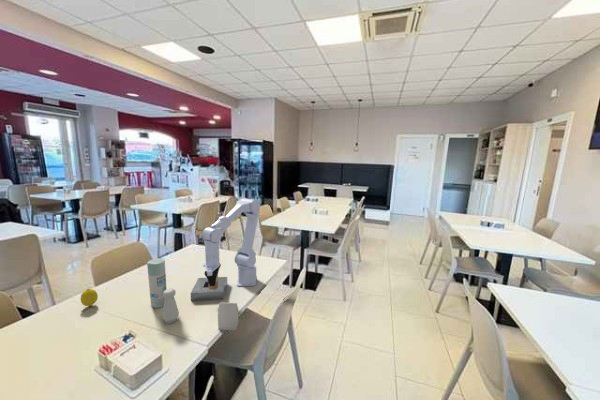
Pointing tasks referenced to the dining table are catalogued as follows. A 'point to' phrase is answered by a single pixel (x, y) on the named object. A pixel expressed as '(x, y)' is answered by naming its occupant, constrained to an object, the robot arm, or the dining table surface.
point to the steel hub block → (208, 290)
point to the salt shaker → (170, 306)
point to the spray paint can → (157, 281)
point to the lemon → (89, 297)
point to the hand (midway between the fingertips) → (213, 283)
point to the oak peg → (215, 284)
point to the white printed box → (228, 316)
